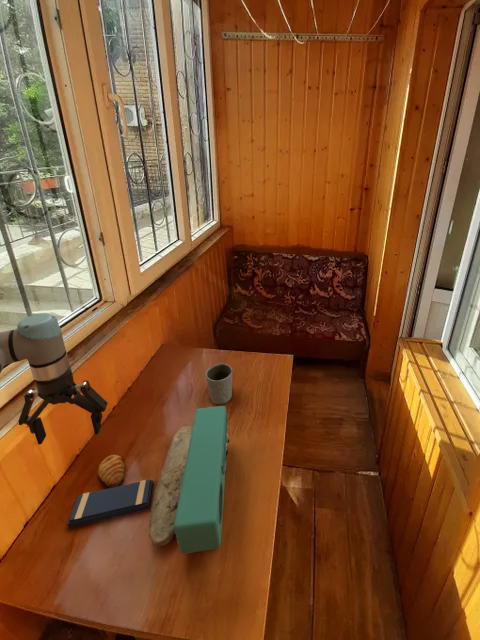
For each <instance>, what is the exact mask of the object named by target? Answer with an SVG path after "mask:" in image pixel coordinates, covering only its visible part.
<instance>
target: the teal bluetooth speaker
mask: <svg viewBox="0 0 480 640" xmlns="http://www.w3.org/2000/svg"><path fill="white" fill-rule="evenodd" d="M228 422H229V421H228V411H227V408H226V406H225V405H217V406H209V407H199V408H196V409H195V413H194V417H193V424H192V433H191V439H190V444H189V449H188V455H187V460H186V465H185V470H184V476H183V481H182V486H181V492H180V497H179V502H178V507H177V513H176V518H175V523H174V531H175V534H174V535H175V537H176V540H177V544H178V547H179V551H180V553H181V554H183V555H185V554H191V553H198V552H204V551H211V550H217V549H219V548H220V547H221V545H222V535H223V532H222V531H223V516H224V502H225V501H224V500H225V485H226V474H227V470H226V469H227V456H228V453H229V451H228V444H229V443H230V439H228V438H229V434H228Z"/></svg>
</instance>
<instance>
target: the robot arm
mask: <svg viewBox="0 0 480 640" xmlns="http://www.w3.org/2000/svg"><path fill="white" fill-rule="evenodd" d="M24 360H27V362H28V365H29V369H30V371H31V375H32V379H33V380H34V385H35V387H36V389H35V388H34V387H30V388H28V390H27V391H26V392H25V394H24V396H23V398H24V404H23V407H22V410H21V412H20V415H19V418H18V421H17V423H18V422H19V425H18V426H23V425H26V426H27V427H28V429H29V431H30V434H33V435H34V436H35V439H36V442H37V445H42V444H43V442H44V441H45V439H46V437H47V432H46V429H45V426H44V424H43V420H42V417H41V414H42V413H43V411H44V410H45V409H46V408H47V406H48V405H49V404H51V405H52V406H55V405H58V404H66V403H68V404H70V405H76V407H79V408H81V409H83V410H84V411H86V412H88V413H90V414H91V415H90V420H91V424H92V427H93V432H94V435H99V433H100V430H101V428H102V424H101V423H102V420H103V413H104V412H105V411H106V410H107V407H108V404H109V403H108V402H107V400H106V399H104V398H103V397H102V396H101V395H100V394H99V393H98V392H97V391H96V390H95V389H94V388H93V387H92V386H91V384H90V382H89V380H87V379H86V380H83V382H82V383H78V384H77V383H76V382H75V381H74V380H75V379H74V375H73V371H72V367H71V365H70V359H69V356H68V352H67V349H66V345H65V341H64V337H63V333H62V328H61V327H60V324H59V322H58V318H57V316H56V315H54V314H53V313H49V312H42V313H35V314H33V315H30V316H26V317H24V318H23V319H21V320H20V321H19V322H18V323H17V328H15V329H10V330H6V331H0V374H1V373H2V371H3V369H4V366H5V365H10V364H13V363H18V362H21V361H24ZM37 397H38V398H40V399H41V400H42V401H41V403H40V405H38V407H37V408H36V409H35V410H34V412H33V413H32V414H31V415H30V412H31V410H32V407H33V404H34V401H35V399H36V398H37Z"/></svg>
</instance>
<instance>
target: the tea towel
mask: <svg viewBox="0 0 480 640" xmlns="http://www.w3.org/2000/svg"><path fill="white" fill-rule="evenodd" d="M153 490H154V480H153V479H142V480H140V481H138V482H132V483H127V484H123V485H117V486H115V487H113V488H111V487H109V488H105V489H101V490H95V491H92V492H91V491H87V492H83V493H82V494H78V495H77V497H76V500H75V502H74V505H73V508H72V511H71V513H70V515H69V518H68V521H67V528H68V529H73V528H77V527H81V526H85V525H90V524H93V523H97V522H101V521H102V522H103V521H105V520H110V519H114V518H118V517H122V516H123V517H124V516H127V515H130V514H136V513H139V512H143V511H147V510H150V507H151V502H152V497H153Z"/></svg>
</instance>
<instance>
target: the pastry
mask: <svg viewBox="0 0 480 640" xmlns="http://www.w3.org/2000/svg"><path fill="white" fill-rule="evenodd" d="M97 469H98V472H97V474H98V477H99V478H100V481H102V482H103V483H104V484H105V485H106V486H107V487H109V488H114V487H118V486H119V484H121V482H122V481H123V479H124V477H125V476H124V475H125V474H124V473H125V463H124V462H123V458H122V456H121V455H118V454H111V455H109V456H106V457H105V458H104V459H103V460H102V461H101V463H100V464H99V466H98V468H97Z"/></svg>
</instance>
